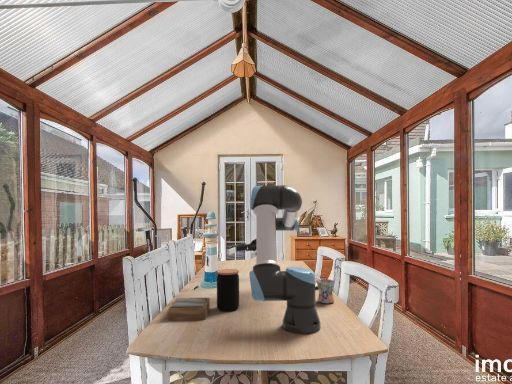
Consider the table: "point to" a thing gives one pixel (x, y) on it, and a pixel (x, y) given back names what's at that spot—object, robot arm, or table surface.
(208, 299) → the walnut stand
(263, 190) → the robot arm
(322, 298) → the mug
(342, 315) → the table surface
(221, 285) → the coffee jar
